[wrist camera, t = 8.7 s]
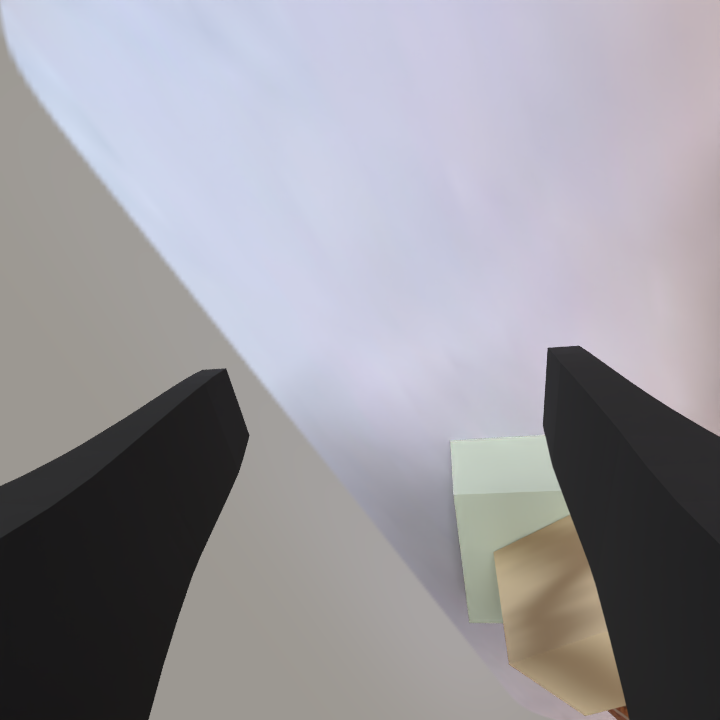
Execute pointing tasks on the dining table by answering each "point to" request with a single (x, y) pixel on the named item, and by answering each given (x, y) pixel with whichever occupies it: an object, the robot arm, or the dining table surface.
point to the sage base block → (499, 508)
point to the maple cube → (557, 619)
